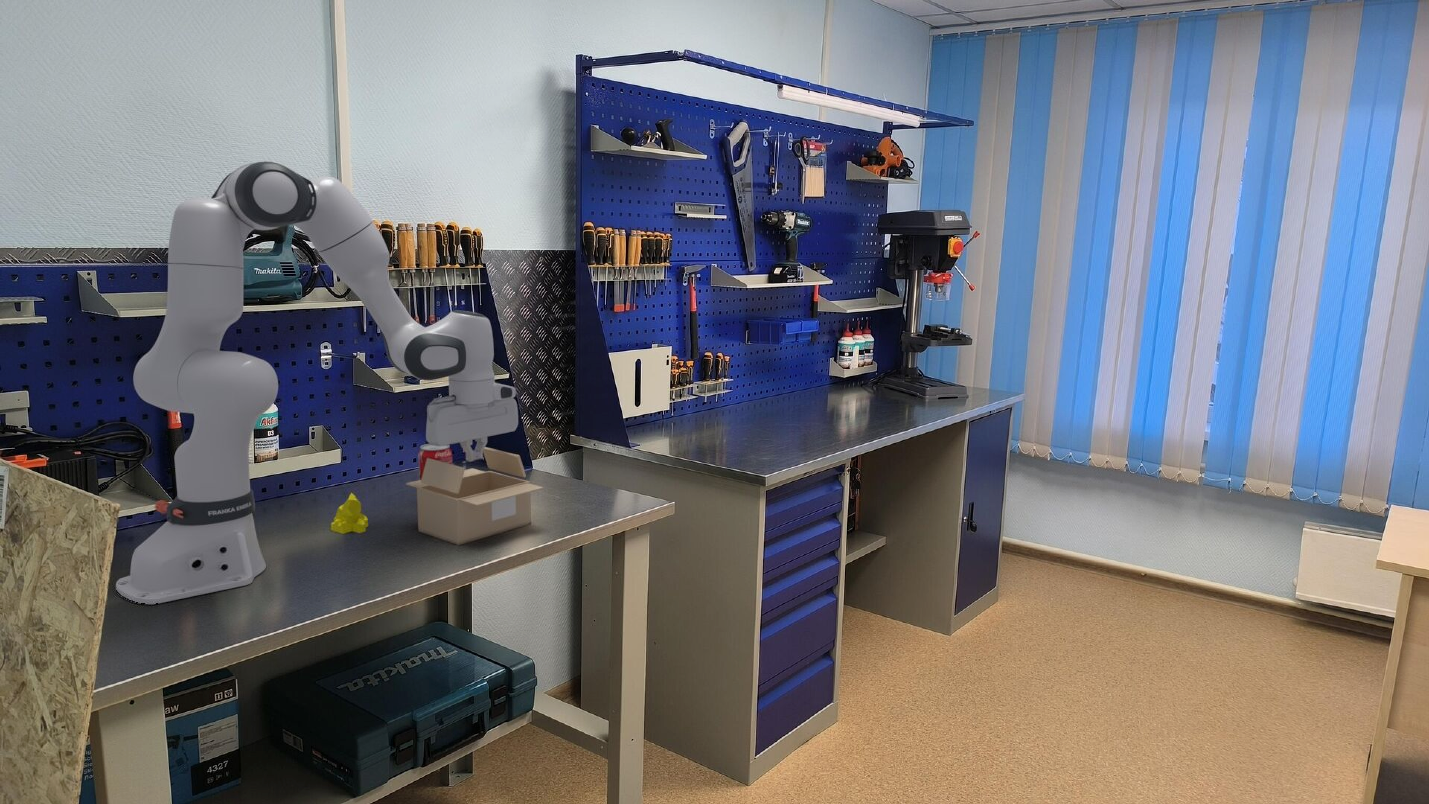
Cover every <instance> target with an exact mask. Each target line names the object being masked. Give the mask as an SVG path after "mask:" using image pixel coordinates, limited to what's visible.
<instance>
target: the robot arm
mask: <svg viewBox="0 0 1429 804" xmlns="http://www.w3.org/2000/svg"><path fill="white" fill-rule="evenodd" d="M290 225H293V227H296V228H298V229H299V230H301V231H302V232H303V234H305V236H306V237H308V239H309V241H310V243H311V244H312V245H313V247H314V249H315V250H316V252H317V253H318V255H319V256H320V257H321V259H322V260H323V261H324V263H326V265H327V266H328V268H330V269H331V271H332V272H333V273H334V274H335V275H336V276H337V277H338V278H339V279H340V280H341V281H342V282H343V284H345V285H346V286H347V287H348V288H349V289H350V290H351V291H352V292H353V293H354V294H355V295H356V296H357V297H358V298H359V300H360V301H361V303H362V304H363V305H364V307H365V309H366V310H367V311H368V313H369V315H370V317H371V318H372V319H373V321H374V323H375V325H377V328H378V329H379V330H380V332H381V335H382V338H383V342H384V349H385V353H386V357H387V359H388V361H389V363H390V364H391V365H392V366H393V368H395V369H396V371H399V372H401V373H403V374H407V375H410V376H412V377H414V378H416V379H418V380H421V381H434V380H439V379H443V378H447V377H448V394H449V395H447V396H444V397H436V398H435V397H434V398H433V400H432V401H430V402H429V404H428V405H427V406H426V407H427V408H426V413H427V417H426V425H425V429H426V430H425V439H426V442H428V443H427V444H431V445H434V446H444V445H453V444H458V443H459V444H460V447H461V448H462V449H463V451H464V452H465V460H466V462H469V463H470V462H475V461H479V460H483V459H484V453H483V450H484V448H485V447H487V444H488V437H492V436H497V435H501V434H506V433H510V432H511V433H512V432H515V431H516V430H517V428H518V425H519V409H518V404H517V401H516V399H515V397H516V395H517V394H516V393H517V389H516V388H515V386H510V385H506V384H503V383H502V384H501V383H500V382H498V381H497V382H496V380H495V379H496V378H495V376H496V375H495V372H494V368H493V361H494V356H495V351H494V348H495V347H494V337H493V329H492V325H491V321H490V319H489V318H488V317H487V316H485V315H484V314H482V313H479V312H474V311H468V310H463V309H462V310H461V309H460V310H459V309H457V310H456V309H454V310H451V311H450V312H449V313H448V314H447V315H446V316H444V317H443V318H442V319H439V320H438V321H436V322H435V323H433V324H430V325H428V326H425V325H422V324H420V322H417V321H416V320H415V319H413V317H412V316H411V315H410V313H409V312H408V310H407V308H406V307H405V305H404V304H403V302H402V300H401V299H400V297H399V296H398V294H397V293H396V291H395V290H394V287H393V286H392V284H391V282H390V279H389V274H388V270H389V269H388V267H389V264H390V263H389V262H390V259H391V258H390V252H389V250H388V249H389V248H388V247H387V244H386V242H385V239H384V238H383V235H382V234H381V232H380V230H379V228H378V227H377V226H376V224H375V222H374V220H373V219H372V218H371V216H370V215H369V213H368V212H367V211H366V209H365V208H364V207H363V205H362V204H361V202H359V200H358V199H357V198H356V197H355V196H354V194H353V193H352V192H351V191H350V190H349V189H348V188H347V187H346V185H344V183H343V182H342V181H341V180H339V179H337V178H336V177H333V176H330V175H320V176H315V177H311V178H309V179H308V178H306V177H304V176H303V175H301V174H299V173H297V172H295V171H294V170H292V169H291V168H289V167H287V166H285V165H282V164H280V163H277V162H273V161H257V162H253V163H251V162H250V163H248V164H244V165H242V166H240V167H237V168H236V169H235V170H233V171H232V172H230V173H229V174H228V175H226V177H224V178H223V179H222V181H221V182H220V184H219V185H218V187H217V189H216V190H215V192H214V193H213V194H212V196H211V197H210V198H209V197H194V198H189V199H186V200H184V201H183V202H181V203H180V204H179V205H177V207H176V208H175V210H174V213H173V218H172V222H171V228H170V234H169V241H168V251H167V255H168V257H167V298H166V299H167V300H166V310H165V316H164V320H163V323H162V327H161V330H160V332H159V334H158V337H157V339H156V341H155V342H154V344H153V345H152V347H151V349H150V350H149V351H148V352H147V353H145V354H144V355H143V356H142V357H141V358H140V359H139V360H138V362H137V363H136V365H135V368H134V371H133V375H132V376H133V377H132V379H133V387H134V390H135V391H136V393H137V395H138V396H139V397H140V399H141V400H143V401H144V402H146V403H148V404H150V405H152V406H155V407H157V408H159V409H162V410H164V411H165V410H166V411H168V412H176V413H184V414H193V416H194V418H193V419H194V421H193V428H192V430H191V431H192V432H191V434H190V436H189V439H188V440H185V441H184V442H183V443H182V444H180V445H179V446H178V447H177V449H176V451H175V454H174V456H173V457H174V458H173V459H174V468H175V482H176V491H177V492H176V493H177V495H176V496H175V498H174V499H173V500H172V501H171V502H168V501H166V500H163V499H160V500H158V501H156V503H155V504H154V510H155V511H157V512H159V513H161V514H162V515H164V514H166V520H167V521H166V522H164V523H163V524H162V526H160V527H159V528H158V529H157V530H155V532H153V533H152V534H151V535H150V536H149V537H148V538H147V539H145V540H144V541H143V542H142V543H140V544H139V545H138V546H137V547H136V548H135V549H134V550H133V553H132V557H131V561H130V562H131V563H130V572H129V573H130V574H129V575H127V576H124V577H121V578H119V579H118V580H117V581H116V582H115V583H116V584H115V591H116V590H117V591H118V592H119V593H120V594H121V595H122V596H124V597H126V598H128V599H129V600H133V601H135V602H134V603H136V602H138V603H137V604H141V603H145V604H144V605H156V603H158V604H162V603H163V604H164V603H166V602H171V601H176V600H180V599H186V598H190V597H191V598H192V597H194V596H195V597H196V596H201V595H205V594H210V593H214V592H219V591H224V590H230V589H233V588H238V587H239V588H240V587H243V586H247V585H250V584H251V583H253V581H254V579H255V577H257V576H258V575H260V574H261V573H263V572H264V571H265V569H266V568H267V564H266V561H265V559H264V557H263V553H262V550H261V548H260V545H259V541H258V537H257V536H258V535H257V532H256V528H255V527H256V526H255V521H254V520H255V518H256V512H255V511H256V503H255V498H254V496H255V495H254V490H253V489H252V488H251V482H250V480H251V479H250V476H251V475H250V459H249V458H250V457H249V455H250V454H249V453H250V452H249V451H250V443H251V438H252V435H253V431H254V429H255V427H256V425H257V422H258V421H259V420H260V418H261V416H262V415H264V414H265V413H266V412H267V411H268V410H269V409H271V407H272V406H273V404H274V403H275V400H276V399H277V396H278V393H279V392H278V391H279V380H278V375H277V373H276V371H275V369H274V368H273V366H272V365H271V364H270V363H269V362H267V361H266V360H265V359H262V358H258V357H257V356H254V355H251V354H247V353H244V352H240V351H239V352H238V351H228V350H227V351H226V350H225V351H224V350H221V349H220V348H221V345H222V340H223V339H224V335H225V333H226V331H227V330H228V328H229V327H230V326H231V325H232V324H234V323H236V322H237V321H238V320H239V319H240V318H241V316H242V314H243V312H244V248H245V243H246V240H247V238H248V236H249V234H250V233H251V232H254V231H259V230H260V231H269V230H270V231H271V230H274V229H279V228H282V227H286V226H290ZM473 440H474V441H475V442H476V445H475V448H474V450H473V448H472V445H473ZM122 596H121V597H122ZM129 600H128V601H129Z"/></svg>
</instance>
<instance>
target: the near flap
mask: <svg viewBox="0 0 1429 804" xmlns="http://www.w3.org/2000/svg"><path fill="white" fill-rule="evenodd" d="M465 470H466V467H463V466H458V465H456V464H455V465H454V464H453V465H452V464H448V463H444V462H440V461H437V460H433V459H429V458H427V460H426V464H425V468H424V472H423V475H422V479H421V483H423V484H427V485H430V486H433V487H437V488H440V489H443V490H447V491H450V492H454V493H457V494H459V490H460V486H461V482H462V479H463V475H464V471H465Z"/></svg>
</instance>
